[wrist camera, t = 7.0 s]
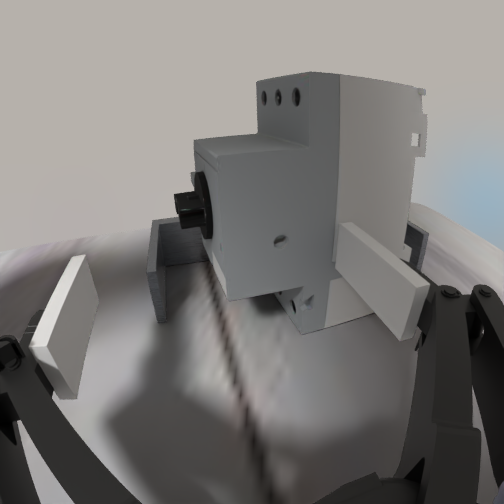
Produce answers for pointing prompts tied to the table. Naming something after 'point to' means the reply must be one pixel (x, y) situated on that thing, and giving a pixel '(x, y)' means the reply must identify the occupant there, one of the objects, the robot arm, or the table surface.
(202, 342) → the table surface
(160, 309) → the grey u-shaped bracket
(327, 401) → the table surface
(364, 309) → the circuit breaker
